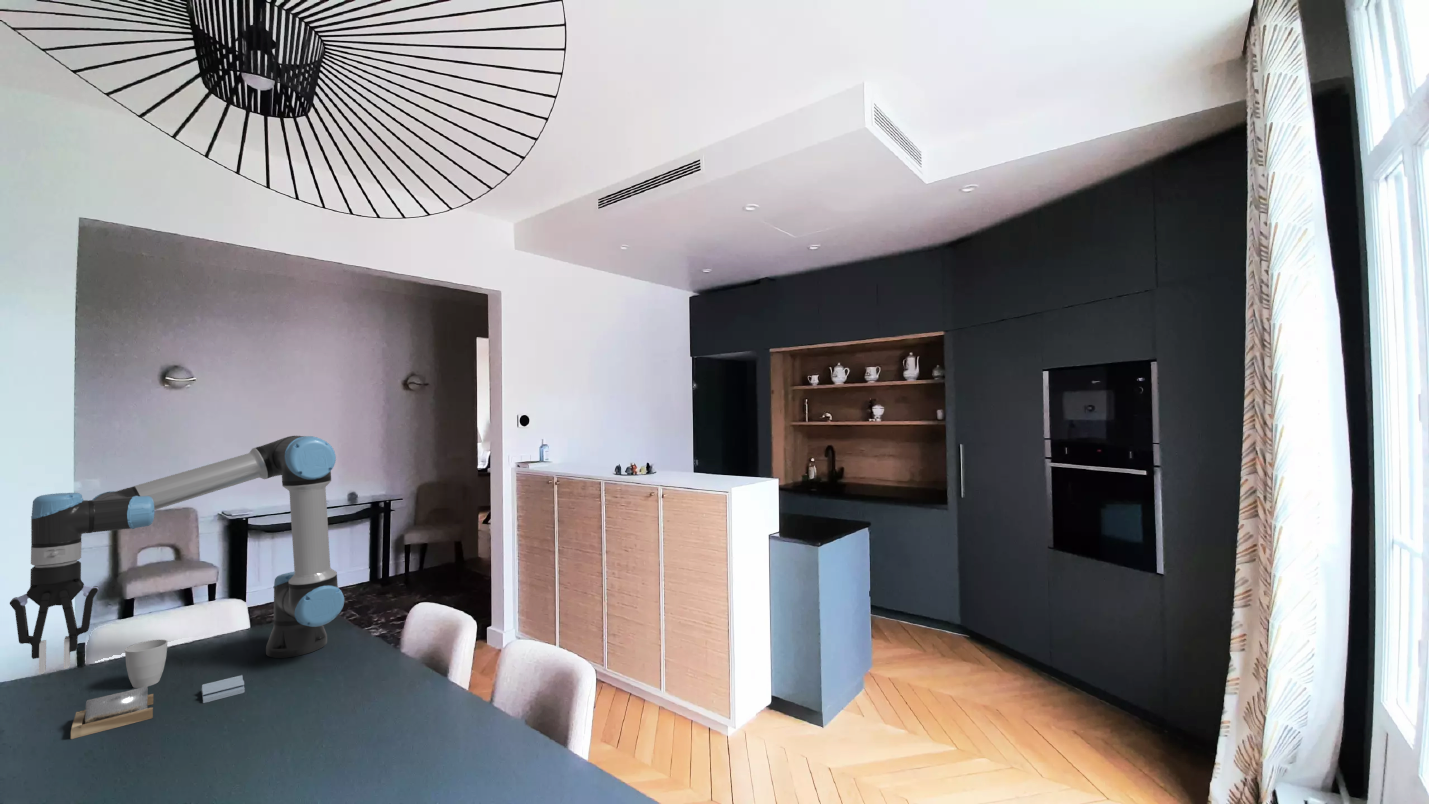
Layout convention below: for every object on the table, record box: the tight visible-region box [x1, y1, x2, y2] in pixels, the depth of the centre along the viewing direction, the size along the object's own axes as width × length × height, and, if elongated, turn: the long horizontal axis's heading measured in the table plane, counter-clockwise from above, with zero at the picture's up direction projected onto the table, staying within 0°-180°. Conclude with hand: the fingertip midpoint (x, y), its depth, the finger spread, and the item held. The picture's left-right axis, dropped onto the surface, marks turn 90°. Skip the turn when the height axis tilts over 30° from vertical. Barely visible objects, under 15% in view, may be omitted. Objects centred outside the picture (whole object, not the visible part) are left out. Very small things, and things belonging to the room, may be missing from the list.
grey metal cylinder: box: [84, 686, 149, 724], centre depth 138 cm, size 10×6×6 cm, turn 133°
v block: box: [201, 674, 246, 704], centre depth 151 cm, size 8×8×2 cm
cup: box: [124, 639, 169, 689], centre depth 155 cm, size 8×8×10 cm
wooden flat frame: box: [70, 693, 154, 740], centre depth 137 cm, size 10×13×2 cm
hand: (54, 668), depth 131 cm, fingers open, 3 cm apart
